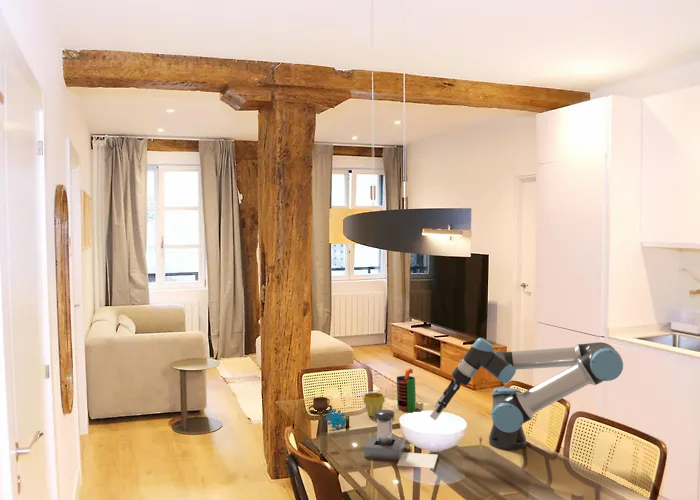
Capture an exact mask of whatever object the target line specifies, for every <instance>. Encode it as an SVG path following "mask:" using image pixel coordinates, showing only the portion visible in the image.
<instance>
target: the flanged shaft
mask: <svg viewBox="0 0 700 500" xmlns="http://www.w3.org/2000/svg"><path fill="white" fill-rule="evenodd" d="M373 418H375V419H376V430H377V431H376V436H377V445H385V446H392V437H393V418H395V411H393V410H390V409H382V410H378V411H375V412H374V417H373Z"/></svg>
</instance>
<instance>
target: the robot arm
mask: <svg viewBox="0 0 700 500" xmlns="http://www.w3.org/2000/svg"><path fill="white" fill-rule="evenodd" d="M494 349H495V347H494V345H493V344H492V343H491V342H489V341H488V340H487V339H485V338H484V337H478V338H477V339H476V340H475V341H474V343H473V344H472V345H471V347H470V348H469V349H468V350H467V352H466V354H464V356H463V358H462V359H459V364H458V365H457V367H455V368H454V370H453V371H452V372H451V376H452V377H453V379H452V380H451V381H450V382H449V384H448V386H447V387H446V389H444V391H443V392H442V394H441V395H440V396H439V398H438V400H436V402H435V403H434V405H433V408H434V410H433V411H432V412H431V414H430V415H429V417H430V418H431V419H432V420H434V421H437V419H438V418H439V416H440V415H441V413H442V412H443V411H444V409H446V408H447V406H448V405H449V404H450V402H451V401H452V399H453V397H454V396H455V395H456V393H457V392H458V391H459V390H460V388H461V384H462V385H463V386H468V385H469V383H470V382H471V381H472V378H474V377H475V375H476V374H477V373H478V371H479V370H480V368H482V369H484V370H486V371H487V372H489V373H490V374H491V375H493V376H494V377H495V378H496V379H497V380H498V381H501V382H502V383H504V384H508V383H509V382H511V380H512V379H513V377H514V376H515V374H516V372H517V370H530V369H532V370H533V369H534V370H535V369H548V368H549V369H550V368H565V367H568V368H567V369H564V370H562V371H561V372H559V373H557V374H555V375H553V376H551V377H549V378H548V379H546V380H544V381H542V382H541V383H539V384H536V385H535V386H533V387H531V388H529V389H528V390H525V391H524V392H522V391H521V390H520V389H518V388H513V387H497V388H493V390H492V395H491V396H492V410H491V419H492V427H491V430H490V433H489V435H488V436H489V437H488V443H489V445H490V446H492V447H495V448H498V449H503V450H521V449H524V448H525V447H526V446H527V438H526V435H525V431H524V429H523V424H525V423H527V422H529V421H530V420H533V417H534V414H536V413H537V412H539V411H541V410H542V409H544V408H547V407H548V406H550V405H552V404H554V403H556V402H557V401H560V400H562V399H564V398H565V397H567V396H569V395H571V394H573V393H575V392H576V391H579V390H581V389H582V388H584V387H586V386H588V385H591V386H592V385H593V386H596V385H597V386H598V385H599V384H601V383H603V382H611V381H613V380H616V379H618V378H619V377H620V375H621V374H622V373H623V369H624V362H623V358H622V357H621V354H620V353H619V352H618V351H617V350H616V349H615V348H614V347H613V346H612V345H611V344H609V343H605V342H590V343H589V342H588V343H580V344H576V345H575V346H574V347H573V346H571V347H559V348H545V349H544V348H543V349H530V350H515V351H514V350H513V351H503V350H497V351H495V352H494Z"/></svg>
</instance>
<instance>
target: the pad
mask: <svg viewBox="0 0 700 500" xmlns="http://www.w3.org/2000/svg"><path fill="white" fill-rule="evenodd" d="M438 456H439V455H438V454H432V453H430V454H429V453H422V452H421V453H418V452H404V451H403V453H402V455H401V457H400V459H399V460H398V462H397V463H396V466H399V467H412V468H413V467H414V468H422V469H423V468H425V469H430V471H433V472H434V471H435V468H436V464H437V460H438Z"/></svg>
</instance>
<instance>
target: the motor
mask: <svg viewBox="0 0 700 500" xmlns="http://www.w3.org/2000/svg"><path fill="white" fill-rule="evenodd" d="M413 370H414V369H413V368H407V369H406V370H405V373H404V375H400V376H399V375H398V376H396V399H397V402H396V403H397V409H399V410H398V411H400V410H401V412H408V413H411V412H414V411H416V410H417V404H416V403H417V401H416V400H417V399H416V378H415V376H411V375H410V374H413V373H414V371H413Z"/></svg>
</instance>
